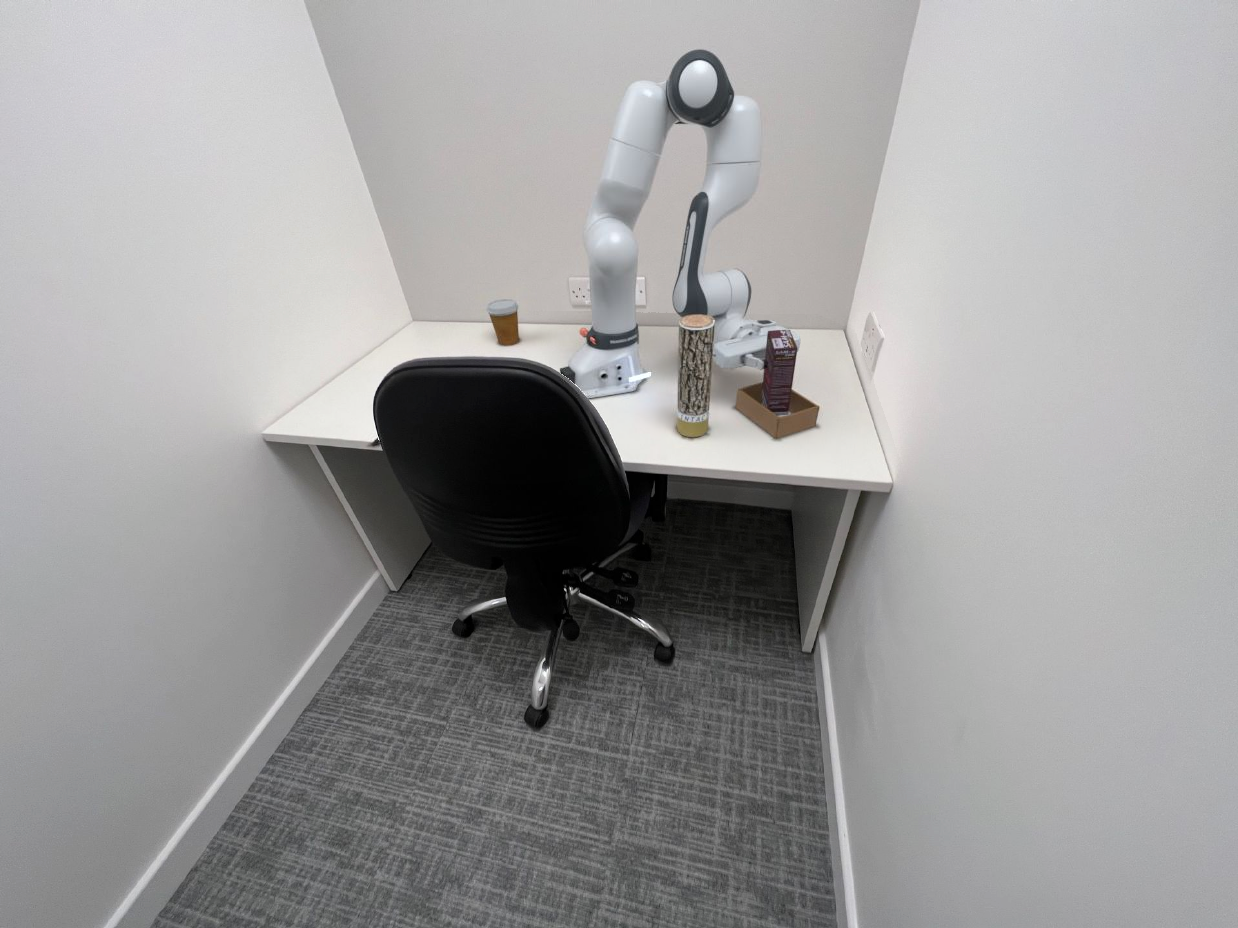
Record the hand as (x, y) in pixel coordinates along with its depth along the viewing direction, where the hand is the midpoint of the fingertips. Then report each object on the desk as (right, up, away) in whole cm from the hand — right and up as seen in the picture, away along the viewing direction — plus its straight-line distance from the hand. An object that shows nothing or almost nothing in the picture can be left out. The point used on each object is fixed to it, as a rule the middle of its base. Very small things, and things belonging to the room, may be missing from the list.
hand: (779, 362), depth 105 cm
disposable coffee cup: (-69, +17, +51) cm, 88 cm away
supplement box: (+1, -9, +5) cm, 10 cm away
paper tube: (-18, -14, +5) cm, 23 cm away
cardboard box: (+1, -11, +7) cm, 13 cm away
